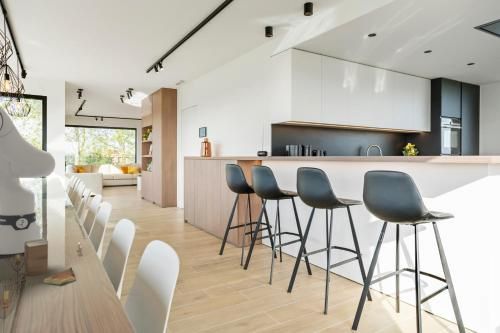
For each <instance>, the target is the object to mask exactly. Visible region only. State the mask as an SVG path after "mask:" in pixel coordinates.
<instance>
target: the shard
mask: <svg viewBox="0 0 500 333" xmlns="http://www.w3.org/2000/svg"><path fill="white" fill-rule="evenodd" d="M76 279H77V277H76V275H75V272H74V270H73V268H72V266H71V267H70V268H67V269H64V270H62V271H59V272H57V273H53V275H50V276H47V277H46V278H44V279H43V283H44V284H50V285H51V284H53V285H57V286H58V285H62V284H65V283H69V282H73V281H76Z"/></svg>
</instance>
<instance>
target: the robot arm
mask: <svg viewBox="0 0 500 333" xmlns="http://www.w3.org/2000/svg"><path fill="white" fill-rule="evenodd" d="M55 168H56V161H55V158H54V156H53V155H52V153H51V152H48V151H46V150H43V149H40V148H38V146H35V145H33V144H32V143H30V141H28V140H26V139H25V138H24V137H23V136H22V134H21V133H20V132H19V130H18V129H17V127H16V125H15V124H14V122H13V120H12V118H11V117H10V115H9V114H8V113H7V112H6V111H5V109H4V108H3V107H2V106H1V105H0V255H17V254H23V253H24V241H25V240H32V239H39V238H42V237H41V236H42V235H41V234H42V233H41V226H40V225H39V224H38V223H37V222H36V221H37V215H36V213H37V212H36V211H35V210H36V209H35V206H36V204H35V203H36V202H35V198H36V197H35V193H34V191H33V190H32V189H30V188H29V187H27V186H24V185H23V184H22V182H21V181H20V179H37V178H43V177H48V176H51V174H52V173H53V172H54V170H55Z"/></svg>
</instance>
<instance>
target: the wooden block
mask: <svg viewBox="0 0 500 333" xmlns="http://www.w3.org/2000/svg"><path fill="white" fill-rule="evenodd" d="M23 253H24V258H23V260H24V263H23V266H24V268H23V271H24V272H23V273H25V274H26V275H27V276H29V277H31V276H36V275H40V274H46V273H48V272H49V268H48V266H49V265H48V264H49V261H48V260H49V256H48V255H49V240H47V239H46V238H44V237H41V238H39V239H32V240H25V241H24V252H23Z"/></svg>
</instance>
